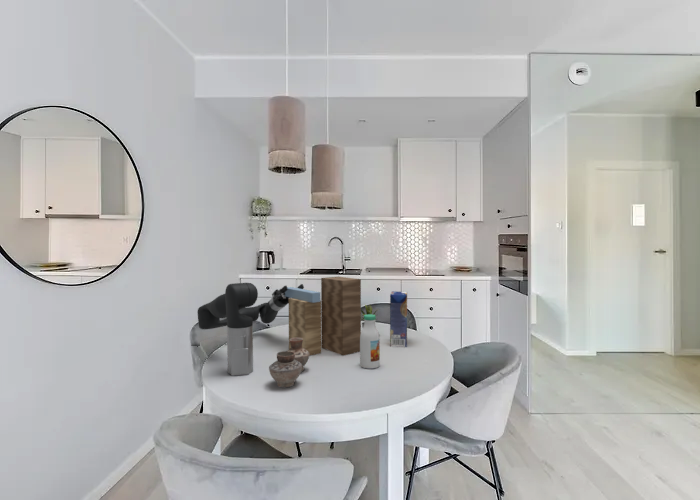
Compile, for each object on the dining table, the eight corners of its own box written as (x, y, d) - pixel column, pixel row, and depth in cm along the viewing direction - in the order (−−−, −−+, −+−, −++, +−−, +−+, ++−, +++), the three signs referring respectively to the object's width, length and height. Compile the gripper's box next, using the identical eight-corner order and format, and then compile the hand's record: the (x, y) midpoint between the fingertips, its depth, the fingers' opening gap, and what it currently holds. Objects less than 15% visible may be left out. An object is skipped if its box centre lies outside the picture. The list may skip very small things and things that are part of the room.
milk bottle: (363, 369, 148) (363, 317, 147) (357, 363, 155) (357, 313, 155) (382, 368, 150) (382, 316, 150) (375, 362, 158) (375, 312, 157)
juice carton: (406, 347, 179) (406, 295, 178) (390, 346, 180) (390, 294, 180) (407, 340, 191) (407, 291, 190) (391, 339, 192) (391, 291, 191)
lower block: (321, 353, 170) (321, 300, 169) (305, 356, 165) (305, 302, 164) (303, 346, 181) (303, 296, 180) (288, 349, 176) (288, 298, 175)
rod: (320, 301, 166) (320, 292, 166) (312, 302, 164) (312, 293, 164) (291, 295, 185) (291, 287, 185) (284, 296, 182) (284, 287, 182)
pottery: (313, 366, 152) (313, 336, 152) (298, 391, 127) (297, 355, 127) (285, 365, 153) (284, 335, 153) (264, 390, 129) (264, 354, 128)
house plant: (350, 332, 207) (349, 302, 207) (374, 330, 211) (374, 300, 211) (358, 339, 194) (358, 306, 193) (384, 337, 198) (384, 304, 197)
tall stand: (360, 351, 172) (360, 279, 172) (343, 355, 166) (342, 280, 165) (338, 343, 185) (338, 276, 184) (321, 347, 179) (321, 277, 178)
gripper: (264, 294, 187) (278, 280, 176) (290, 292, 196) (305, 278, 184) (268, 309, 184) (283, 295, 173) (294, 306, 193) (310, 292, 182)
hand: (294, 286), depth 179 cm, fingers open, 8 cm apart
